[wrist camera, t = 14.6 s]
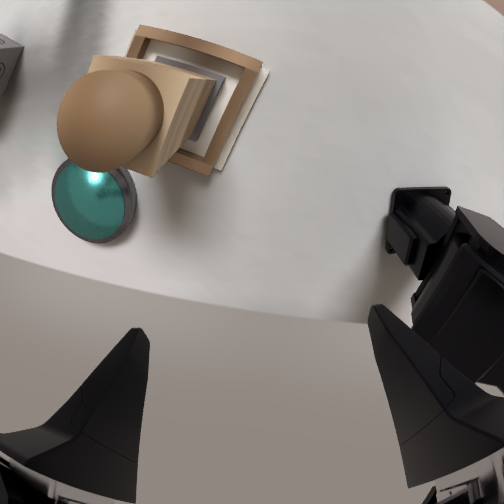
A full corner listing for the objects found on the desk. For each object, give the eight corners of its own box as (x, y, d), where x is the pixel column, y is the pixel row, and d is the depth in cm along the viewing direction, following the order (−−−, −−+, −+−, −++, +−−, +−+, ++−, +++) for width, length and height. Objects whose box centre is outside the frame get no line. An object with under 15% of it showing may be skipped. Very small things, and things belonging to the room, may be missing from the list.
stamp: (226, 77, 15) (195, 69, 6) (198, 138, 18) (144, 211, 9) (161, 56, 14) (63, 41, 5) (137, 118, 17) (35, 170, 7)
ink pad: (121, 138, 18) (112, 143, 16) (148, 227, 22) (142, 237, 21) (49, 164, 18) (39, 171, 17) (78, 239, 23) (71, 249, 21)
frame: (271, 67, 15) (273, 66, 14) (220, 172, 20) (218, 180, 18) (139, 26, 13) (131, 23, 11) (102, 131, 17) (92, 136, 16)
